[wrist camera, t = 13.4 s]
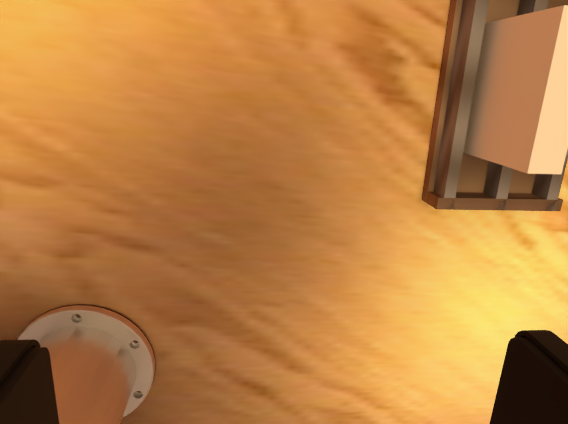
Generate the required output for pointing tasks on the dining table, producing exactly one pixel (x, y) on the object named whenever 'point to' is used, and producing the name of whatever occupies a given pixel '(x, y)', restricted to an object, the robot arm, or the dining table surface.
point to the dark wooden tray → (455, 115)
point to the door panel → (522, 93)
